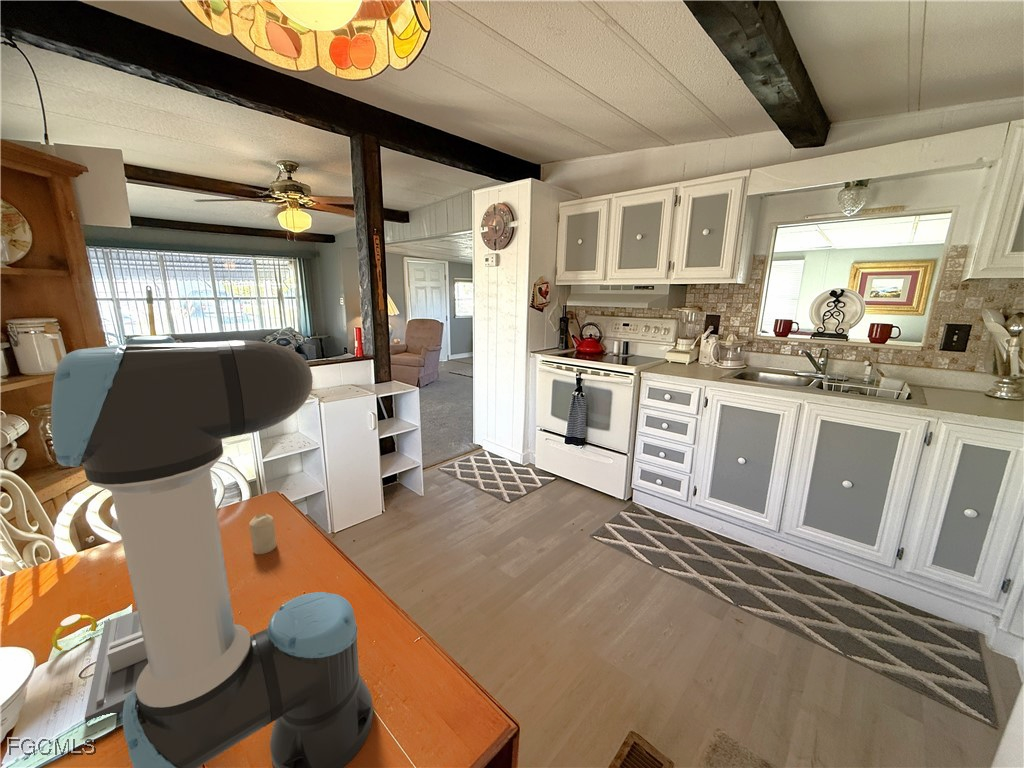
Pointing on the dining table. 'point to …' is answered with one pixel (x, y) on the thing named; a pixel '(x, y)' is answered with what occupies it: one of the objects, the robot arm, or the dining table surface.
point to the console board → (119, 684)
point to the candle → (262, 533)
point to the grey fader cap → (126, 651)
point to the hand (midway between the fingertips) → (179, 501)
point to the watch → (71, 622)
